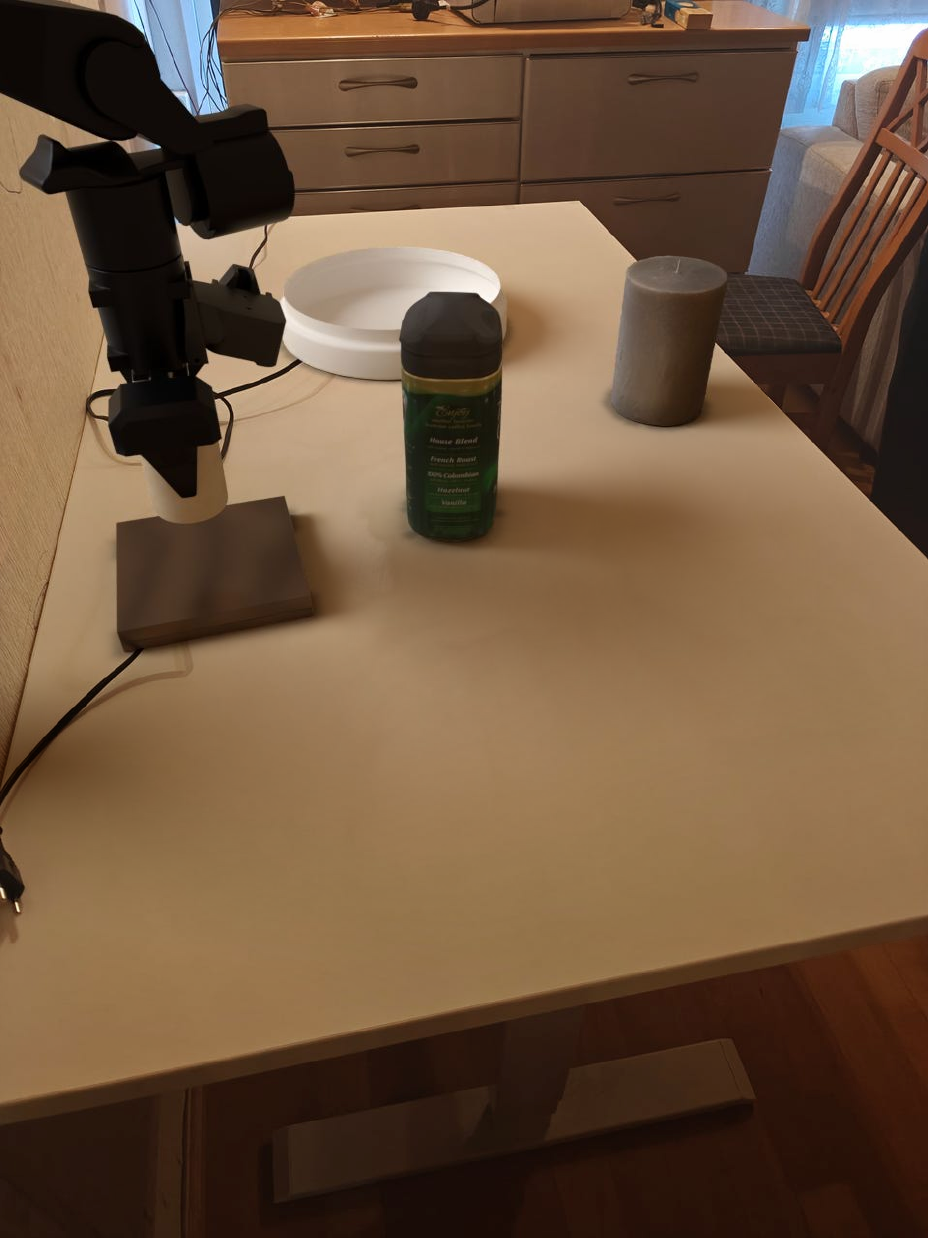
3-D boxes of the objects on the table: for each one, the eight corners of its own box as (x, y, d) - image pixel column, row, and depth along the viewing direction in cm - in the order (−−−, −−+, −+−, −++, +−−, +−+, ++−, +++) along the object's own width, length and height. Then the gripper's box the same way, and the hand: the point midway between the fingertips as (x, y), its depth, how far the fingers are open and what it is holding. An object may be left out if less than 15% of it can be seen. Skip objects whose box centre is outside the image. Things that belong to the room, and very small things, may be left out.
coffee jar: (498, 546, 73) (506, 334, 61) (404, 545, 73) (392, 333, 61) (497, 483, 80) (503, 281, 68) (411, 482, 80) (402, 280, 68)
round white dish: (525, 297, 113) (528, 254, 109) (476, 393, 93) (477, 344, 89) (329, 278, 118) (325, 236, 114) (244, 365, 98) (236, 318, 94)
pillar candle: (719, 419, 89) (752, 271, 79) (632, 433, 87) (654, 283, 77) (676, 377, 96) (701, 236, 86) (594, 389, 94) (610, 246, 84)
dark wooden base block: (123, 652, 64) (116, 632, 62) (122, 541, 74) (115, 522, 72) (313, 615, 67) (310, 595, 65) (287, 514, 77) (284, 495, 75)
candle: (151, 486, 66) (120, 366, 59) (224, 476, 68) (203, 357, 61) (155, 530, 63) (122, 407, 56) (233, 518, 64) (210, 397, 57)
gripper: (287, 298, 48) (317, 528, 58) (250, 199, 61) (280, 401, 72) (75, 321, 46) (146, 557, 56) (84, 213, 59) (140, 419, 69)
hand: (186, 474), depth 63 cm, fingers closed on candle, 5 cm apart
